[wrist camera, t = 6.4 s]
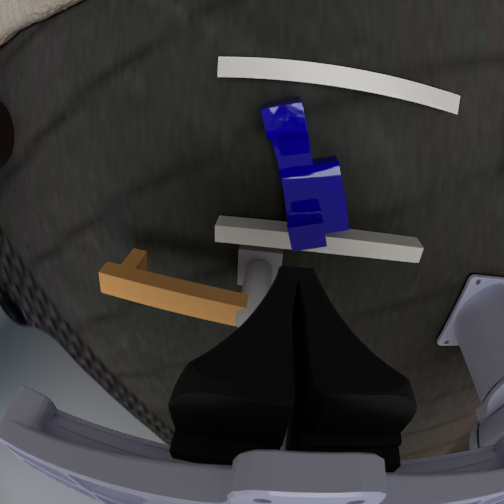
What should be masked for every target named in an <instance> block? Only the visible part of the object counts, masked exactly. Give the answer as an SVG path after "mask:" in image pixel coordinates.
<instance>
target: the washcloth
mask: <svg viewBox="0 0 504 504" xmlns="http://www.w3.org/2000/svg"><path fill="white" fill-rule="evenodd" d="M80 1H82V0H0V46H1V45H3V44H4V43H6V42H7V41H9V40H10V39H11V38H12V37H14V36H15V35H16V34H17V32H18V31H20V30H22V29H24V28H26V27H28V26H30V25H31V24H33V23H35V22H40V21H43V20H45V19H47V18H49V17H50V16H52V15H54V14H56V13H58V12H60V11H62V10H66V9H67V8H68V7H70V6H72V5H74V4H77V3H78V2H80Z"/></svg>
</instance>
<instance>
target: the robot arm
mask: <svg viewBox="0 0 504 504" xmlns="http://www.w3.org/2000/svg"><path fill="white" fill-rule="evenodd" d="M477 280H478V281H477ZM476 281H477V282H476ZM437 344H438V345H440V346H457V345H459V347H460V349H461V351H462V354H463V356H464V359H465V361H466V364H467V366H468V369H469V372H470V374H471V377H472V379H473V382H474V385H475V388H476V391H477V393H478V396H479V399H480V402H481V406H480V407H478V408H477V409H476V410H475V411H476V415H477V418H478V421H477V422H476V423H475V424H474V425H473V427H472V430H471V436H470V443H469V447H470V450H468V451H463V452H458V453H453V454H447V455H442V456H435V457H429V458H421V459H413V460H404V461H400V455H399V447H398V446H400V445H401V442H402V440H401V432H402V430H403V429H404V428H405V427H406V426H407V425H408V423H409V422H410V421H411V420H412V418H413V417H414V415H415V413H416V410H417V405H416V401H415V396H414V393H413V390H412V387H411V385H410V382H409V379H408V378H406V377H405V376H403V375H402V374H400V373H399V372H397V371H396V370H394V369H393V368H391V367H390V366H389V365H387V364H386V363H385V362H384V361H382V360H381V359H380V358H379V357H377V356H376V355H375V354H374V353H373V352H372V351H370V350H369V349H368V348H367V347H366V346H365V345H364V344H363V343H362V342H361V341H360V340H359V339H358V338H357V337H356V336H355V334H354V333H353V332H352V331H351V330H350V329H349V327H348V326H347V325H346V323H345V322H344V321H343V319H342V318H341V317H340V315H339V314H338V312H337V311H336V309H335V308H334V306H333V305H332V303H331V301H330V300H329V298H328V296H327V295H326V293H325V291H324V289H323V287H322V285H321V283H320V281H319V279H318V277H317V275H316V272H315V271H314V269H311V268H301V267H291V266H281V267H279V268H278V272H277V275H276V278H275V280H274V282H273V284H272V285H271V287H270V289H269V290H268V292H267V294H266V295H265V297H264V298H263V300H262V301H261V302H260V304H259V305H258V306H257V308H256V309H255V310H254V312H253V313H252V314H251V315H250V316H249V317H248V318H247V320H246V321H245V322H244V323H243V324H242V325H241V326H240V327H239V328H238V329H236V330H235V331H234V332H233V333H232V334H231V335H230V336H229V337H227V338H226V339H225V340H223V341H222V342H221V343H219V344H218V345H217V346H215V347H214V348H213V349H211V350H210V351H208V352H207V353H205V354H203V355H202V356H200V357H198V358H196V359H195V360H193V361H191V362H189V363H188V364H187V366H186V367H185V369H184V370H183V372H182V373H181V375H180V377H179V379H178V381H177V383H176V385H175V387H174V389H173V392H172V395H171V398H170V401H169V404H168V406H169V412H170V415H171V418H172V421H173V424H174V427H175V432H174V435H173V439H172V442H171V446H170V445H166V444H162V443H158V442H154V441H150V440H146V439H143V438H139V437H135V436H132V435H128V434H125V433H122V432H118V431H115V430H112V429H109V428H106V427H103V426H100V425H97V424H94V423H92V422H89V421H86V420H83V419H81V418H78V417H75V416H72V415H70V414H68V413H65V412H63V411H60V410H58V409H56V407H55V405H54V403H53V402H52V401H51V400H50V399H49V398H48V397H47V396H45V395H43V394H41V393H39V392H37V391H35V390H32V389H30V388H28V387H26V386H22V387H21V388H20V390H19V392H18V394H17V395H16V397H15V398H14V400H13V402H12V403H11V405H10V407H9V409H8V410H7V412H6V414H5V416H4V417H3V419H2V421H1V423H0V442H1V443H3V445H5V446H6V447H7V448H8V449H9V450H10V451H12V453H14V454H15V455H16V456H17V457H19V458H20V459H21V460H22V461H23V462H24V463H26V464H27V465H28V466H30V467H32V468H34V469H36V470H37V471H39V472H41V473H43V474H44V475H46V476H48V477H50V478H52V479H54V480H56V481H58V482H60V483H62V484H64V485H66V486H67V487H69V488H71V489H74V490H76V491H78V492H80V493H82V494H84V495H86V496H88V497H91V498H93V499H95V500H98V501H100V502H102V503H104V504H504V277H496V276H486V275H477V274H473V275H471V276H470V277H469V278H468V280H467V282H466V284H465V287H464V289H463V291H462V293H461V295H460V297H459V299H458V301H457V303H456V305H455V307H454V309H453V311H452V313H451V315H450V317H449V319H448V321H447V323H446V325H445V327H444V328H443V330H442V332H441V334H440V336H439V337H438V339H437ZM287 427H288V429H287ZM286 430H287V439H286V447H285V450H280V447H281V446H282V443H283V440H284V437H285V434H286Z"/></svg>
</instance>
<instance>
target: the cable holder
mask: <svg viewBox="0 0 504 504" xmlns="http://www.w3.org/2000/svg"><path fill="white" fill-rule="evenodd" d="M261 114H262V118H263V122H264V126H265V130H266V134H267V139H270V140H271V143H272V145H273V148H274V151H275V155H276V158H277V162H278V166H279V171H280V176H281V180H282V186H283V192H284V198H285V205H286V214H287V229H288V234H289V239H290V244H291V249H292V252H293V251H300V250H307V249H314V248H320V247H327V243H326V235H325V234H327V233H334V232H340V231H347V230H349V225H348V215H347V206H346V199H345V194H344V189H343V184H342V178H341V173H340V167H339V161H338V159H337V158H336V156H334V157H327V158H320V159H314V160H312V155H311V149H310V144H309V138H308V129H307V124H306V119H305V114H304V110H303V105H302V101H301V99H300V97H296V98H290V99H285V100H279V101H274V102H269V103H266V104H265V105H264V106H263V107H262V109H261Z"/></svg>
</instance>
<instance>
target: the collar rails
mask: <svg viewBox="0 0 504 504" xmlns="http://www.w3.org/2000/svg"><path fill="white" fill-rule="evenodd" d="M217 77H237V78H259V79H274V80H286V81H296V82H305V83H314V84H322V85H329V86H336V87H342V88H348V89H354V90H360V91H365V92H371V93H376V94H381V95H385V96H390V97H394V98H399V99H403V100H407V101H411V102H415V103H419V104H423V105H427V106H430V107H434V108H437V109H441V110H444V111H448V112H451V113H454V114H458V108H459V101H460V96H459V95H456V94H453V93H450V92H447V91H444V90H441V89H437V88H434V87H431V86H427V85H424V84H420V83H417V82H413V81H409V80H405V79H401V78H397V77H393V76H388V75H384V74H379V73H375V72H370V71H365V70H359V69H354V68H348V67H342V66H336V65H329V64H322V63H314V62H306V61H296V60H286V59H273V58H255V57H218V75H217ZM325 235H326V243H327V247H320V248H314V249H307V250H301V251H310V252H320V253H329V254H339V255H348V256H357V257H367V258H376V259H385V260H394V261H404V262H413V263H419V261H420V258H421V255H422V252H423V249H424V248H423V246H422V245H421V243H420V241H419V240H418V238H417V237H410V236H402V235H395V234H387V233H379V232H372V231H364V230H355V229H349V230H347V231H340V232H334V233H327V234H325ZM215 242H223V243H233V244H240V246H239V249H238V278H237V285H243V281H244V277H245V272H246V268H247V265H248V264H249V263H250V262H252V261H254V260H263V261H265V262H267V263H268V264H269V265H270V266H271V268H272V278H271V285H272V284H273V282H274V280H275V278H276V275H277V272H278V268H279V267H281V266H282V259H283V249H291V244H290V239H289V234H288V229H287V222H284V221H274V220H264V219H254V218H243V217H233V216H222V215H219V218H218V220H217V222H216V224H215ZM291 250H292V249H291Z"/></svg>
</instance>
